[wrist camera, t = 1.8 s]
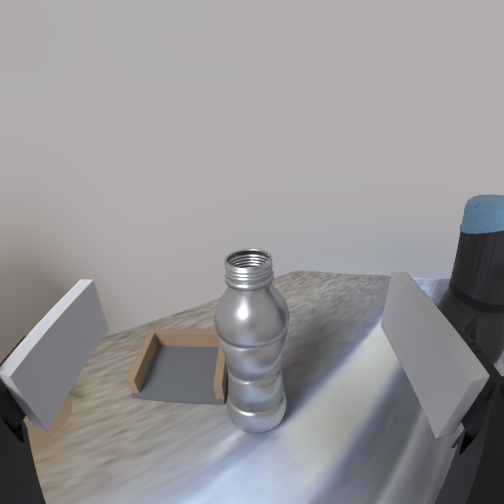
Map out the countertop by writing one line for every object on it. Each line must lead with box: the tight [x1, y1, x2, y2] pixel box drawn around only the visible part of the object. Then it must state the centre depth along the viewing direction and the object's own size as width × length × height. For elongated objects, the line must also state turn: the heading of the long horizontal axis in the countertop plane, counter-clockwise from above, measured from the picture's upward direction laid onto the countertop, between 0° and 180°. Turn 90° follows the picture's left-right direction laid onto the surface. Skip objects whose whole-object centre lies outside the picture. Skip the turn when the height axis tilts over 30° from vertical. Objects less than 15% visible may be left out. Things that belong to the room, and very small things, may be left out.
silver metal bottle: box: [214, 249, 290, 433], centre depth 27 cm, size 6×7×20 cm
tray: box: [127, 328, 228, 404], centre depth 38 cm, size 12×12×3 cm
